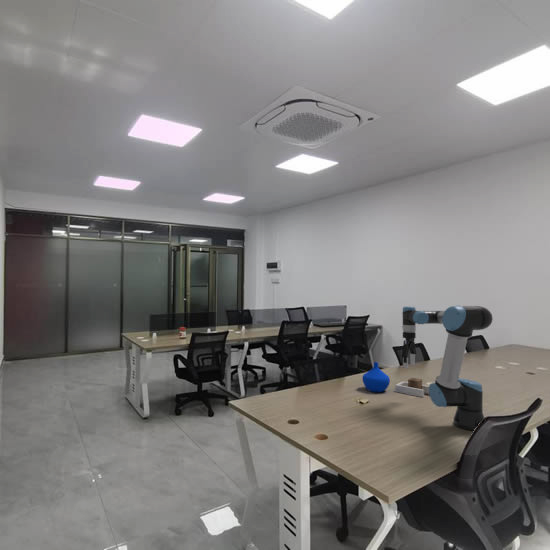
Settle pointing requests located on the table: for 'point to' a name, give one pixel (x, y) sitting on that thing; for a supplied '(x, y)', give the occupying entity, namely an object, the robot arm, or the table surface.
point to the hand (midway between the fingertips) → (409, 366)
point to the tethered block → (415, 384)
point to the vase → (376, 379)
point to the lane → (411, 389)
